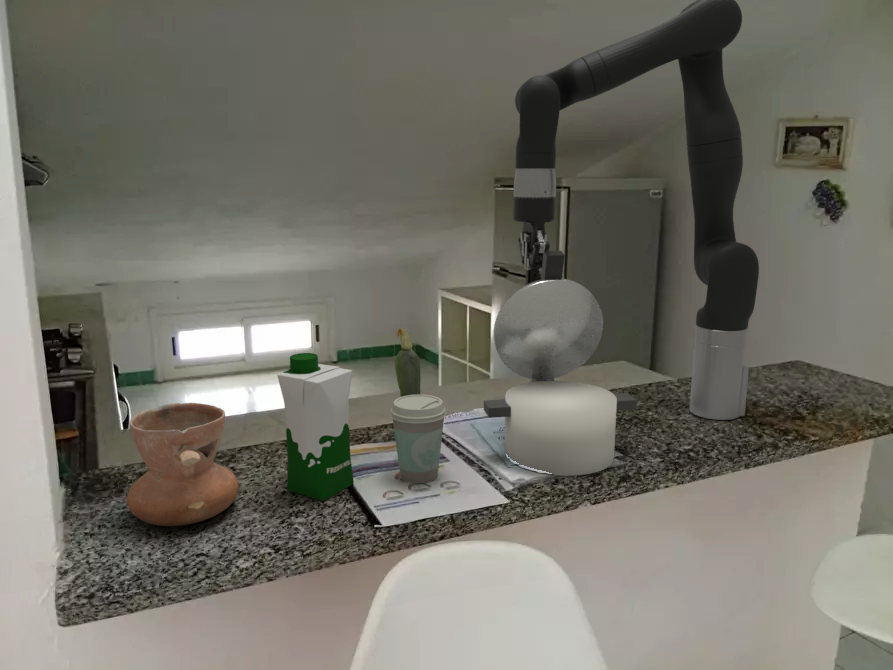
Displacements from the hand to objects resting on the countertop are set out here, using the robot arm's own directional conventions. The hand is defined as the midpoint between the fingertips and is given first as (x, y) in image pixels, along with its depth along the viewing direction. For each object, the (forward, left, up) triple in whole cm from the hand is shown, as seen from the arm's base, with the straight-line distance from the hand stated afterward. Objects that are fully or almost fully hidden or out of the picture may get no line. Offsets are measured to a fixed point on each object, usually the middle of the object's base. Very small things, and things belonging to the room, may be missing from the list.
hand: (532, 290), depth 133 cm
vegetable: (+24, +8, -25) cm, 35 cm away
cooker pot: (0, +19, -25) cm, 31 cm away
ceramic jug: (+58, +30, -25) cm, 70 cm away
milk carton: (+39, +26, -25) cm, 53 cm away
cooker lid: (0, +12, -4) cm, 13 cm away
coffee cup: (+24, +24, -25) cm, 42 cm away
